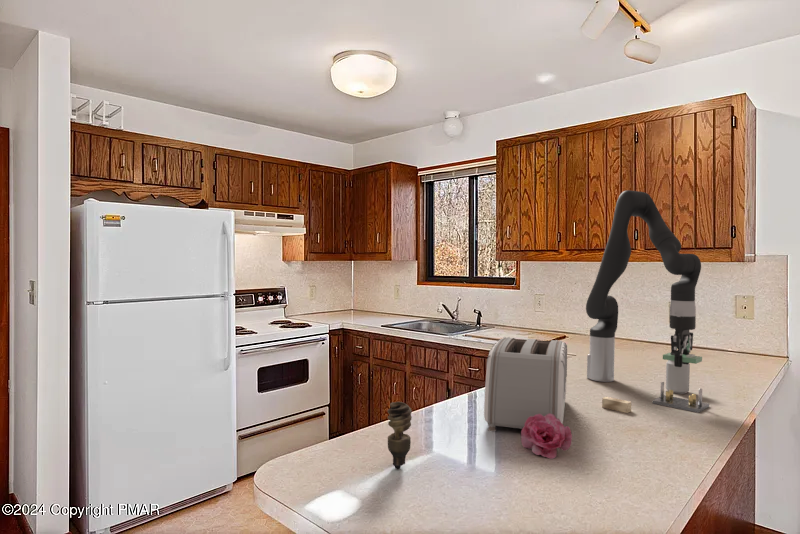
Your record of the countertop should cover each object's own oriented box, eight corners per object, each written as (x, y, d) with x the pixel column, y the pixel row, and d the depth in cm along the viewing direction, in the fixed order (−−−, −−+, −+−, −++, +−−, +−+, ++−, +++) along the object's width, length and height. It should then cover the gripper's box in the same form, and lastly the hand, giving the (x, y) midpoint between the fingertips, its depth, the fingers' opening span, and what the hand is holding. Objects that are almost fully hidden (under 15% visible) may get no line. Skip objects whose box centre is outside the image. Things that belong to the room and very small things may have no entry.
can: (692, 394, 185) (692, 361, 185) (669, 393, 186) (669, 360, 186) (685, 389, 192) (685, 357, 192) (663, 388, 194) (663, 356, 193)
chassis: (652, 403, 173) (652, 383, 173) (663, 397, 180) (664, 379, 180) (699, 412, 163) (699, 392, 163) (709, 406, 170) (709, 386, 170)
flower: (557, 474, 123) (537, 442, 121) (530, 462, 132) (510, 433, 130) (586, 440, 128) (566, 409, 126) (558, 431, 137) (539, 402, 135)
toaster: (566, 398, 179) (568, 333, 179) (562, 441, 137) (564, 356, 136) (503, 392, 186) (504, 329, 186) (481, 431, 144) (482, 350, 143)
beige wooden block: (602, 407, 168) (602, 398, 168) (606, 405, 170) (606, 396, 170) (627, 413, 162) (627, 403, 162) (631, 411, 164) (631, 401, 164)
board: (662, 359, 173) (662, 352, 173) (669, 357, 177) (669, 350, 177) (695, 363, 166) (696, 356, 166) (702, 361, 170) (702, 354, 170)
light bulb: (386, 463, 121) (386, 398, 120) (409, 462, 121) (410, 398, 121) (387, 473, 115) (388, 405, 115) (412, 472, 116) (413, 405, 115)
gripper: (678, 312, 179) (677, 361, 179) (662, 314, 169) (661, 366, 169) (702, 313, 173) (701, 364, 174) (687, 316, 164) (686, 370, 164)
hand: (681, 365), depth 171 cm, fingers closed on board, 6 cm apart
